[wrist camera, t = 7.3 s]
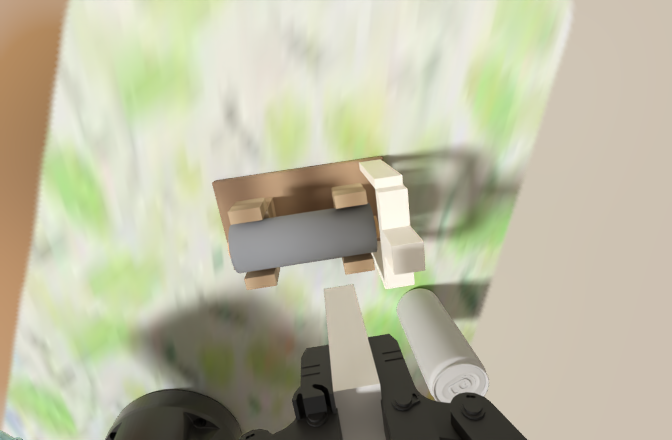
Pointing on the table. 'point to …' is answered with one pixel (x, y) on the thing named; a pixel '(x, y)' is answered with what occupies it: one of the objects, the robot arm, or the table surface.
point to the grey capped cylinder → (303, 238)
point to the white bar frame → (394, 227)
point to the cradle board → (295, 203)
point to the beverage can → (440, 347)
